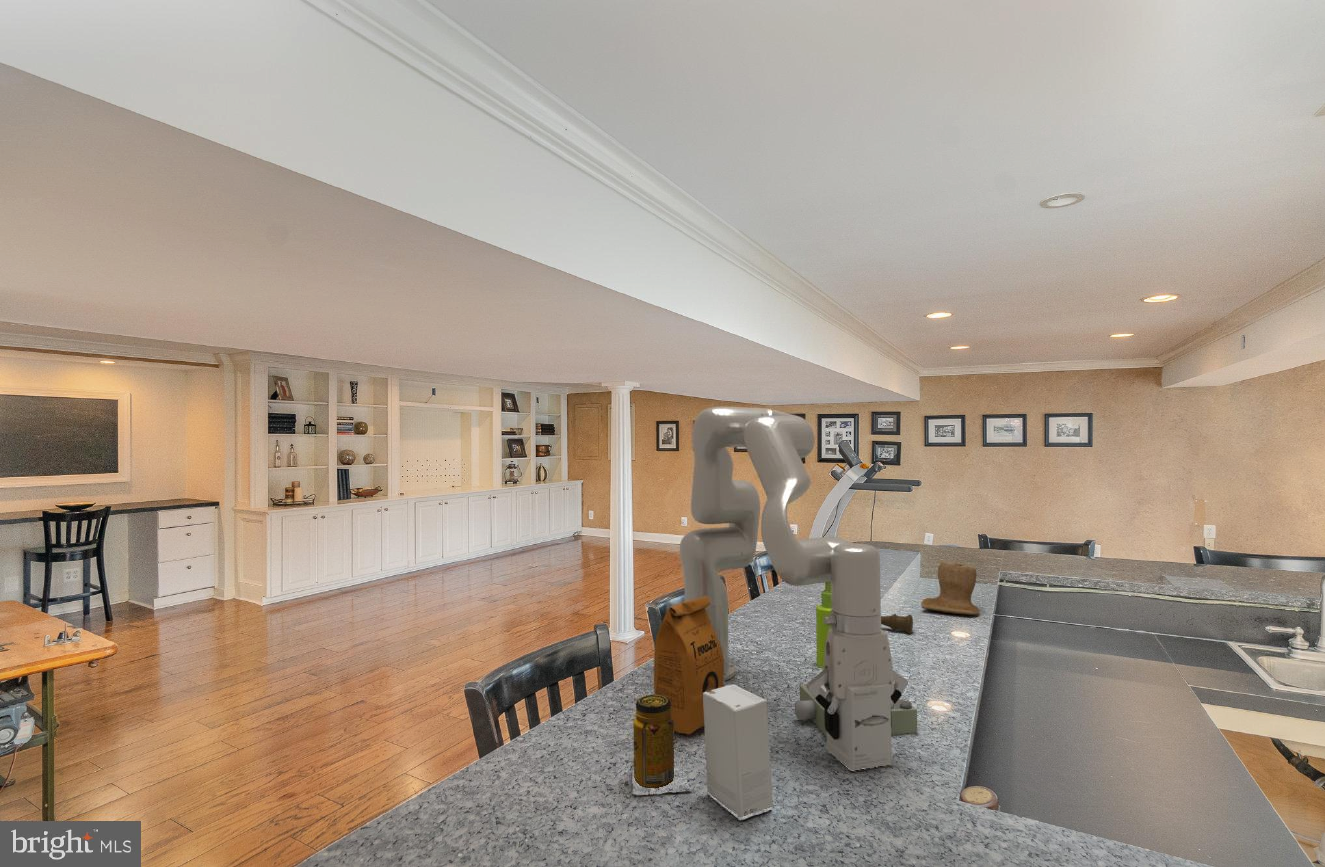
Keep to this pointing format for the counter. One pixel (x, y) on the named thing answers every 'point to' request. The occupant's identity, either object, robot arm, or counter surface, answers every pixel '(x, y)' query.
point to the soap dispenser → (820, 626)
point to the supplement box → (863, 727)
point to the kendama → (898, 622)
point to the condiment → (653, 742)
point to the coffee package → (687, 662)
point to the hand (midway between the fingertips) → (858, 733)
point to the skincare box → (737, 749)
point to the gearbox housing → (811, 709)
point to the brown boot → (954, 589)
